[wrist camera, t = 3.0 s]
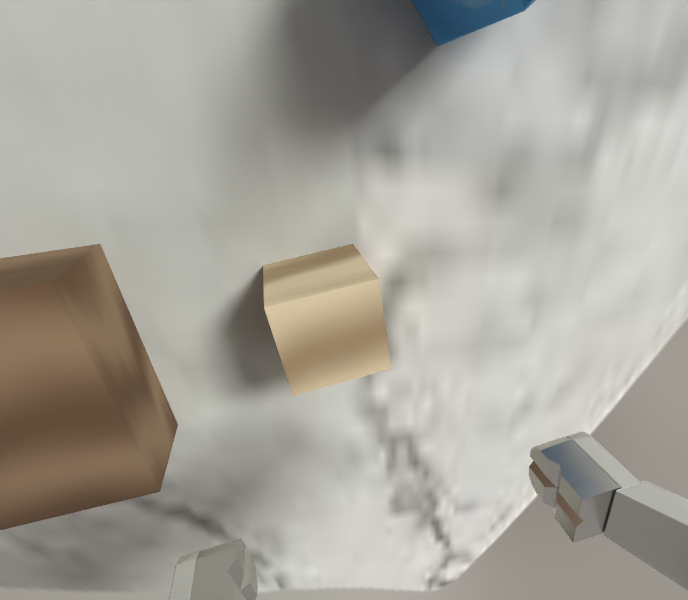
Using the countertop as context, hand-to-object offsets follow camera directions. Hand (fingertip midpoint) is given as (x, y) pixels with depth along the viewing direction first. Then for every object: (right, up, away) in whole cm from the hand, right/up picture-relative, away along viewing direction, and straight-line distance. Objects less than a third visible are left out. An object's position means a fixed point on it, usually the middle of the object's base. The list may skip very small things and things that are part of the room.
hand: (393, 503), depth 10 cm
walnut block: (-18, +2, +10) cm, 21 cm away
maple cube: (-3, +6, +11) cm, 13 cm away
